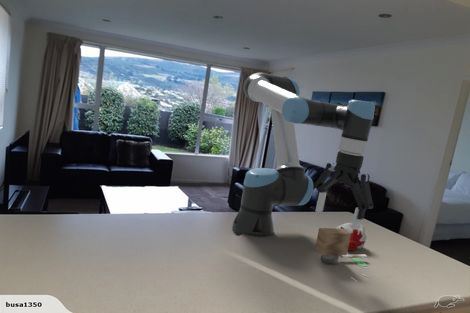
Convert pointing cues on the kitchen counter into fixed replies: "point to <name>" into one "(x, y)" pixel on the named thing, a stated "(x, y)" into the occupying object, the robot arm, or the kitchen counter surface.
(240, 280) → the kitchen counter surface
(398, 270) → the kitchen counter surface
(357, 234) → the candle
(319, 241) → the knob
